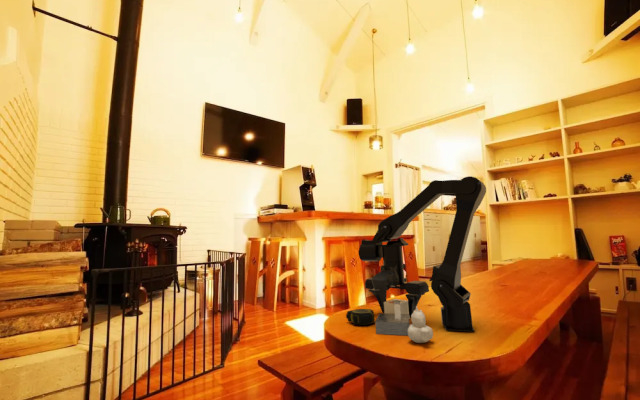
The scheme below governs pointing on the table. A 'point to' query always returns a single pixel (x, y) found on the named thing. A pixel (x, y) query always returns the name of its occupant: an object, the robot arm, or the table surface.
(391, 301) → the cream box
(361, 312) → the tape measure
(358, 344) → the table surface
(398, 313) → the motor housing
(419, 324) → the white rounded figure
